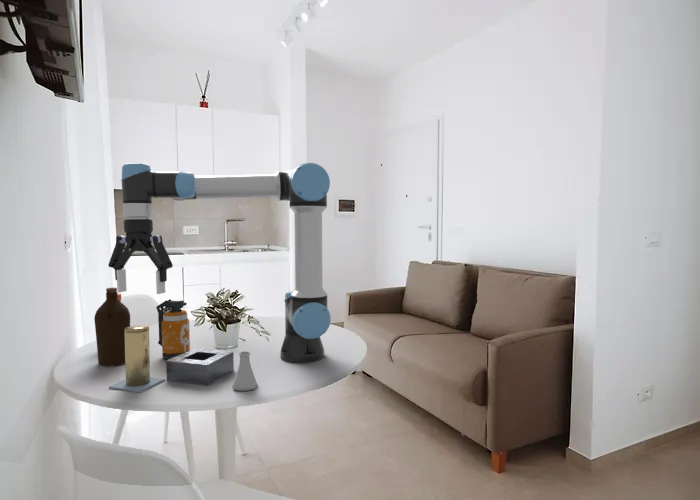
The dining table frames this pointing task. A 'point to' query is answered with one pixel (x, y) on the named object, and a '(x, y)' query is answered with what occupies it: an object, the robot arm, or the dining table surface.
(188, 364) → the box
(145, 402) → the dining table surface
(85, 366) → the dining table surface
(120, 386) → the mat
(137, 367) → the gold metal cylinder
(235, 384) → the flask
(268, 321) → the dining table surface
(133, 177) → the robot arm
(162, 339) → the canister
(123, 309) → the olive oil
